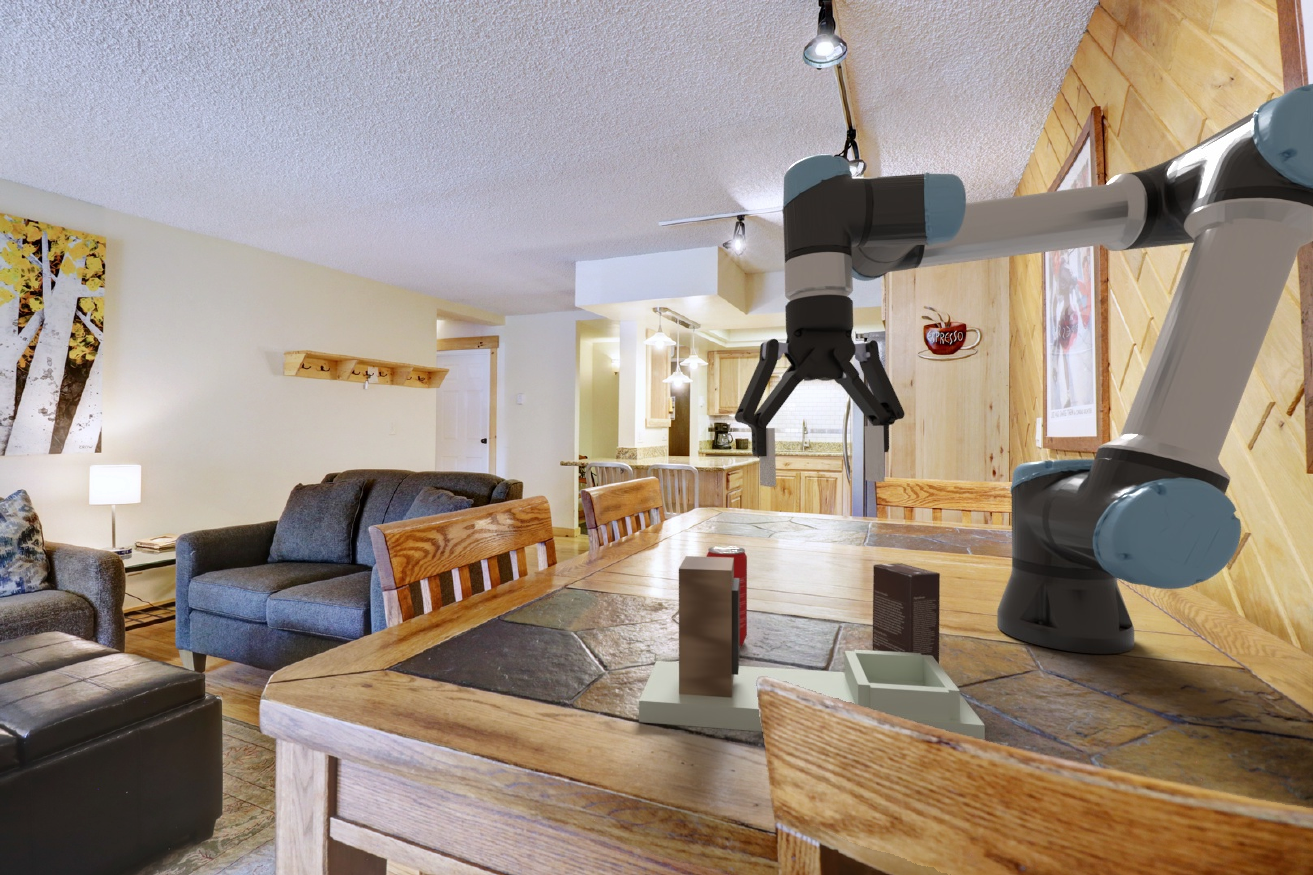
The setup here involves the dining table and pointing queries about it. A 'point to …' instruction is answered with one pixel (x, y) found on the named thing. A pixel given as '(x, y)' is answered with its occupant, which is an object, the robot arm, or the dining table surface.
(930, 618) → the box
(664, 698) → the pale green holder tray
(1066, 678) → the dining table surface
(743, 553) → the beverage can
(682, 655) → the brown tall rectangular block
